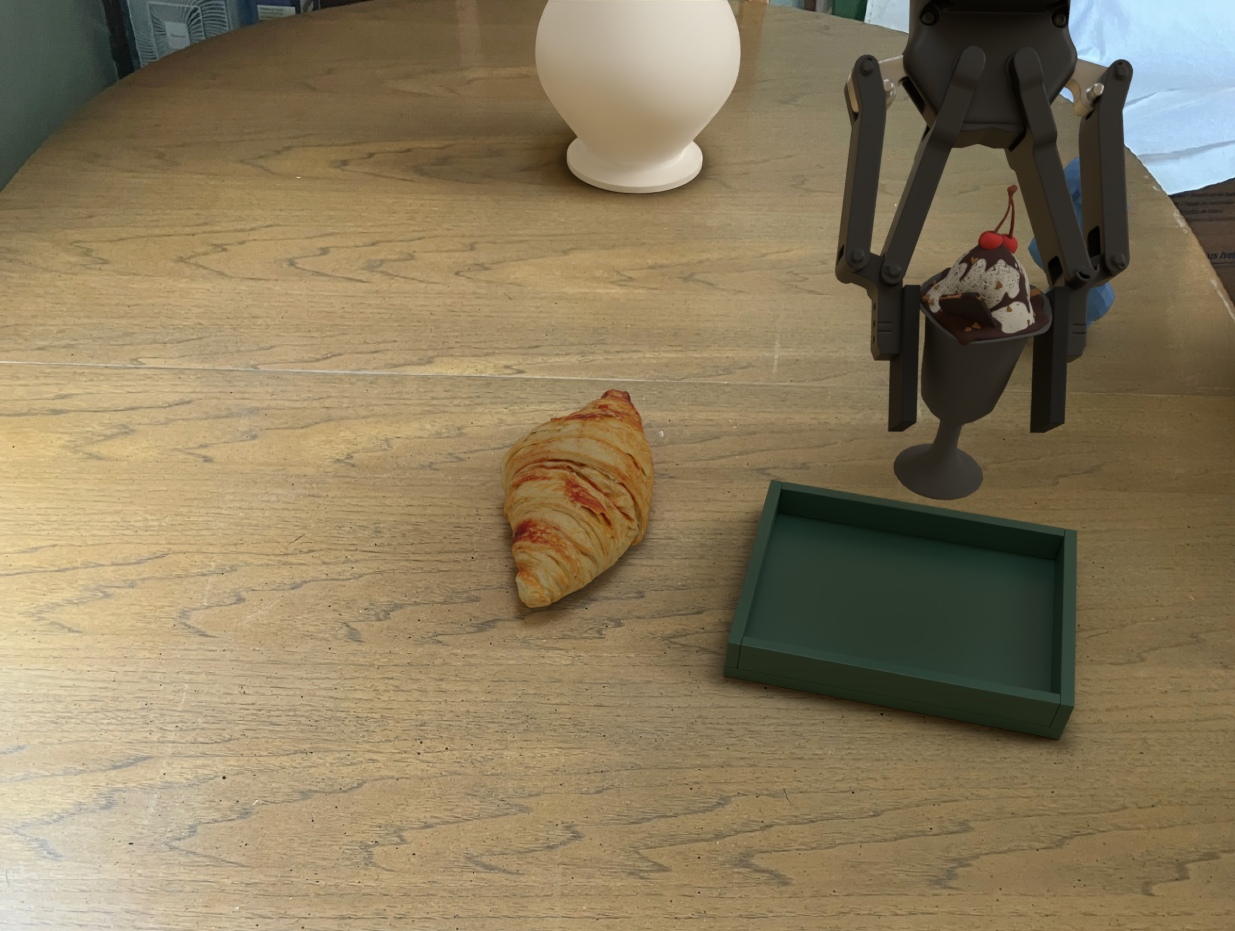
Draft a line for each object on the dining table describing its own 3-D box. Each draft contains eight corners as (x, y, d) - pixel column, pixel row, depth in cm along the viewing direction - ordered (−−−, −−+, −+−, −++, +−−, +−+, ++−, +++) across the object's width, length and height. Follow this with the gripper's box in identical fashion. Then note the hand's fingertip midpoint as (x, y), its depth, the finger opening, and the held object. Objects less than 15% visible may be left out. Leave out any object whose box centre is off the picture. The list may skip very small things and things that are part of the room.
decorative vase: (499, 155, 114) (481, -178, 95) (639, 102, 122) (649, -216, 102) (628, 228, 106) (638, -119, 87) (770, 166, 114) (808, -165, 94)
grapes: (983, 281, 102) (1024, 130, 92) (1062, 277, 102) (1109, 127, 93) (1030, 360, 95) (1079, 205, 85) (1114, 355, 95) (1172, 201, 86)
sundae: (961, 427, 71) (1035, 162, 59) (1020, 498, 67) (1112, 228, 55) (857, 447, 70) (912, 179, 58) (911, 520, 66) (982, 249, 54)
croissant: (578, 670, 78) (639, 599, 71) (436, 591, 75) (487, 510, 69) (651, 464, 90) (708, 389, 84) (532, 390, 88) (582, 307, 82)
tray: (1064, 563, 80) (1077, 530, 78) (1059, 739, 70) (1075, 706, 68) (765, 513, 82) (770, 478, 80) (722, 675, 73) (726, 642, 71)
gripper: (1155, -17, 63) (1133, 441, 66) (776, -24, 63) (769, 438, 65) (1232, -106, 56) (1204, 415, 58) (802, -115, 55) (793, 412, 58)
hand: (974, 426), depth 62 cm, fingers closed on sundae, 7 cm apart
